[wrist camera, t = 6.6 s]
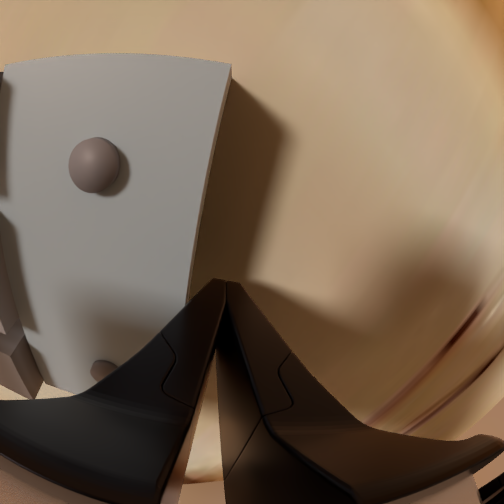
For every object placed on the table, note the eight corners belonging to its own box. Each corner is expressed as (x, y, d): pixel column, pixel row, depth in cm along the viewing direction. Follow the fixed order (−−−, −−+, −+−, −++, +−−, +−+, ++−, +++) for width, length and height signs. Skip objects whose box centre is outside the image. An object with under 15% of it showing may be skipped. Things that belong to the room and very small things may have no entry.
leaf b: (231, 78, 7) (231, 54, 4) (179, 373, 12) (171, 438, 9) (5, 75, 6) (-63, 80, 2) (25, 332, 11) (-4, 380, 8)
